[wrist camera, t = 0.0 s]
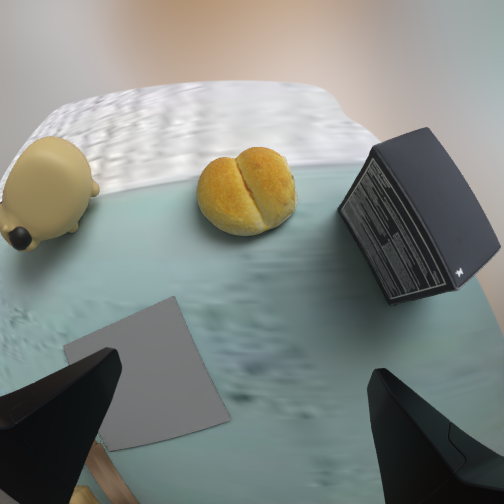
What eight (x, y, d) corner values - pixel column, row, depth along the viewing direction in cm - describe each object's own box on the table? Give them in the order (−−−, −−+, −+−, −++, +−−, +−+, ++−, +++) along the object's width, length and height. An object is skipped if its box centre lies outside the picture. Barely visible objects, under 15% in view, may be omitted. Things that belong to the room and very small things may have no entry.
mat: (231, 418, 22) (230, 420, 21) (111, 449, 21) (109, 451, 20) (174, 296, 24) (173, 296, 24) (65, 345, 24) (63, 345, 23)
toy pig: (28, 226, 27) (-29, 196, 17) (85, 154, 29) (38, 105, 19) (58, 279, 25) (-13, 257, 15) (125, 196, 27) (69, 141, 17)
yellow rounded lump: (192, 176, 27) (182, 155, 24) (277, 150, 28) (278, 126, 24) (213, 252, 25) (203, 239, 22) (307, 222, 26) (313, 205, 22)
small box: (436, 274, 24) (506, 248, 13) (388, 308, 23) (456, 297, 13) (385, 183, 26) (430, 122, 16) (334, 208, 26) (368, 144, 15)
